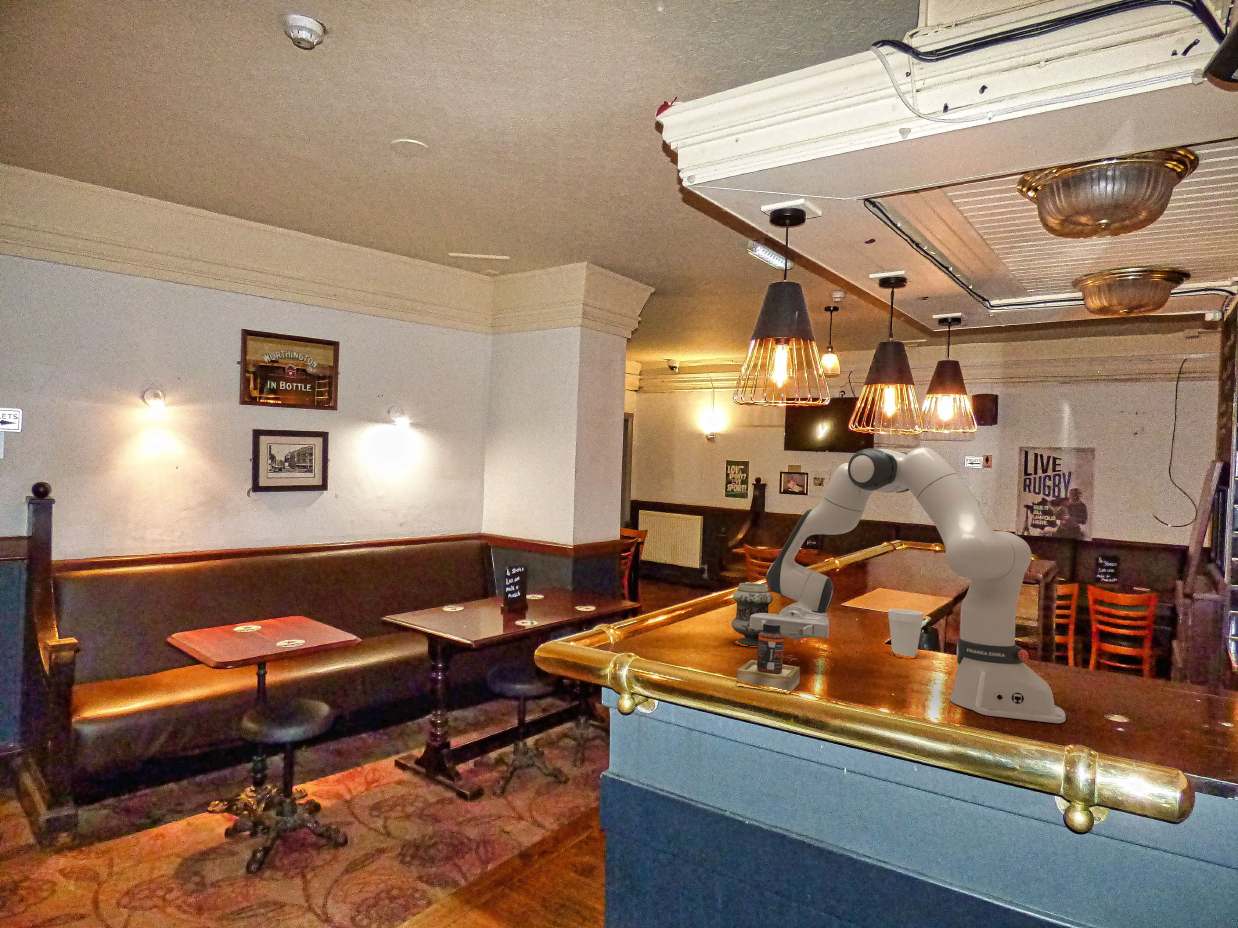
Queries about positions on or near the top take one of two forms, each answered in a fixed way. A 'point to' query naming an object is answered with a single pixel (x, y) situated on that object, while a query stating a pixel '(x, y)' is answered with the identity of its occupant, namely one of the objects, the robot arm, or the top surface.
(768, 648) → the supplement bottle
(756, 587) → the apothecary jar
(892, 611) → the foam cup
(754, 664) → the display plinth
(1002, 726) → the top surface
